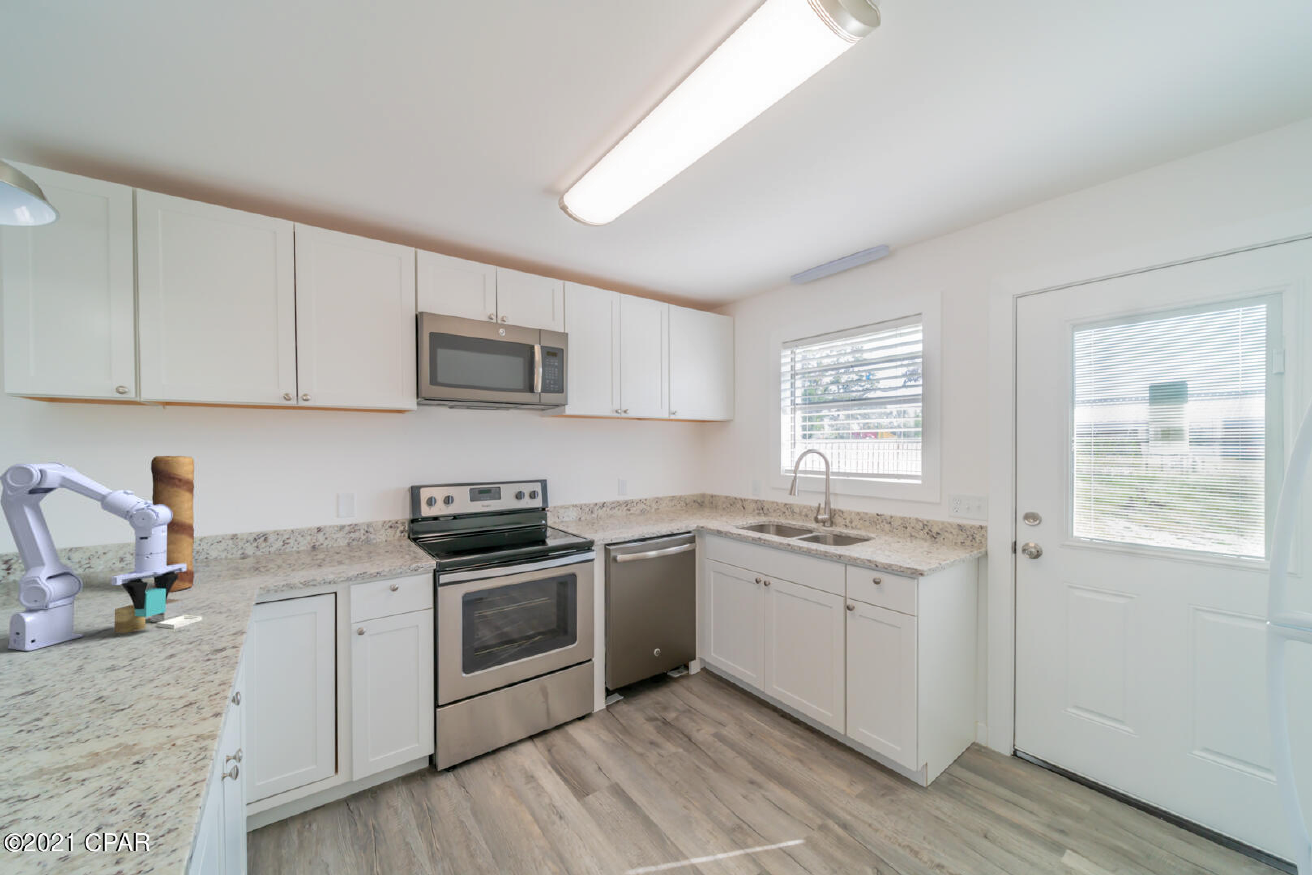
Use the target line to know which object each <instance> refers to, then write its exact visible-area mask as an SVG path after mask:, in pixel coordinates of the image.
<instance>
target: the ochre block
mask: <svg viewBox="0 0 1312 875" xmlns="http://www.w3.org/2000/svg"><path fill="white" fill-rule="evenodd" d="M143 628H144V629H146V617H141V616H135V608H134V604H131V605H126V606H122V607H119V608H115V609H114V633H115V634H124V633H126V634H129V633H134V632H136V631H135V630H137V631H139V630H138V629H140V630H142V629H143Z"/></svg>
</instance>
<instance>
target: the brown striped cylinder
mask: <svg viewBox="0 0 1312 875" xmlns="http://www.w3.org/2000/svg"><path fill="white" fill-rule="evenodd" d="M150 471H151V474H152V475H151V476H152V496H151V497H152V499H151V500H152V502H153V503H152V504H153V505H159V504H161V505H165V506H166V507H168V508H169V509H170V510H171V511H172V514H173V517H172V520H171V521H170V522H169V523H168V524H167V566H169V565H175V564H181V563H182V564H187V568H186V571H183V572H176V573H175V574H178V578H177V580H176V581H175V582H174V584H173V586H172V587H171V589H170V591H169V592H170V593H174V592H177V591H181V590H187V589H189V588H192V587H193V585H194V579H195V572H194V564H193V563H194V562H193V561H194V556H193V554H194V553H193V551H194V542H195V537H194V536H195V535H194V534H195V529H194V528H195V527H194V498H195V497H194V496H195V495H194V494H195V492H194V490H195V483H194V480H195V479H194V478H195V474H194V472H195V461H194V457H192V456H184V455H183V456H182V455H175V456H174V455H173V456H172V455H163V456H162V455H156V456H154V457H153V458H152V460H151V462H150ZM153 584H154V586H153V588H156V584H155V580H154V579H153Z"/></svg>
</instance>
